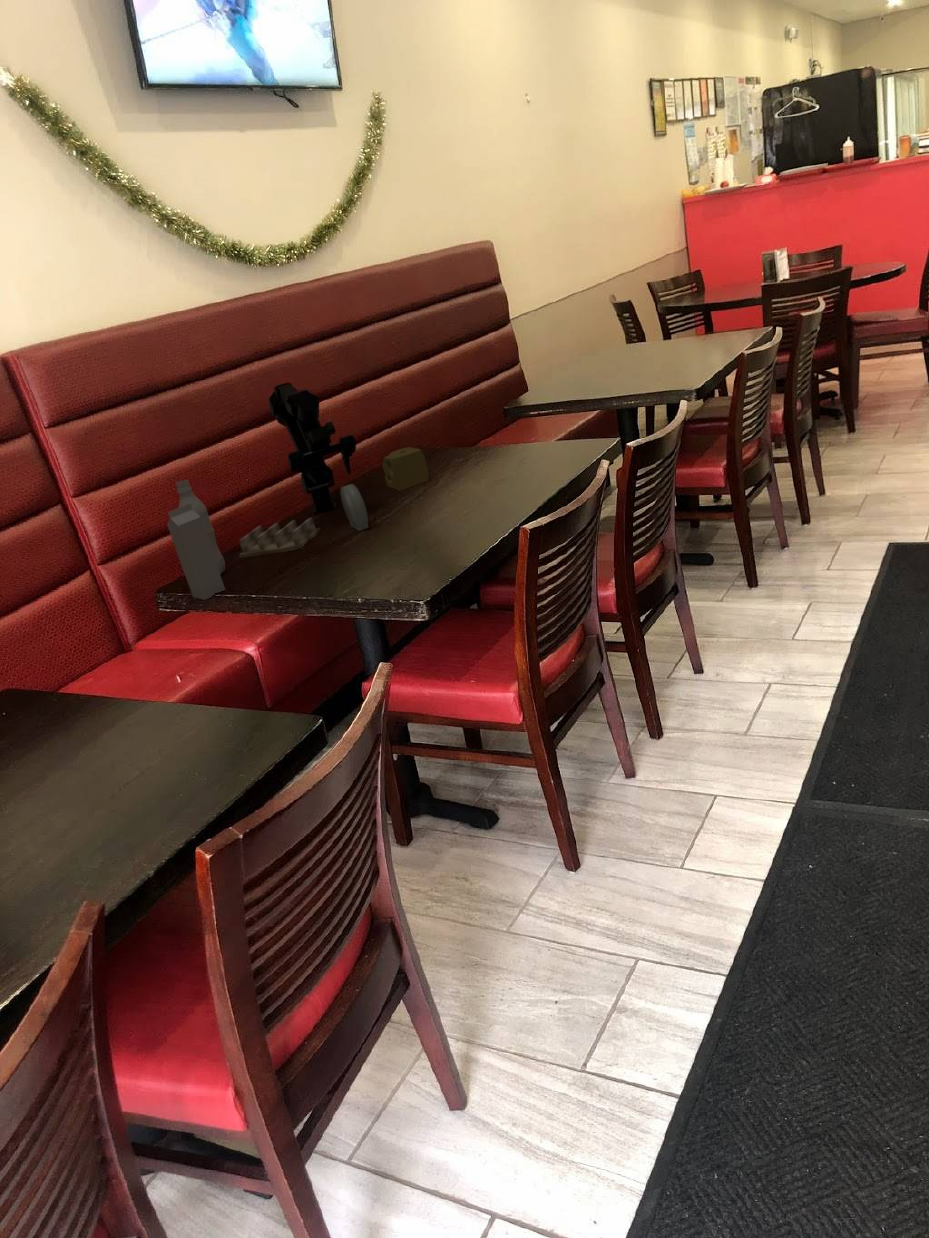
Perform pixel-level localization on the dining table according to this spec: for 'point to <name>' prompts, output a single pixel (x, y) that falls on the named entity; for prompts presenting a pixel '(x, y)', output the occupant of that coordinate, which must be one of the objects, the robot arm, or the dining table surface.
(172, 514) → the milk
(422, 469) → the cheese
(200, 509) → the water bottle
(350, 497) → the plate
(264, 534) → the dish rack
